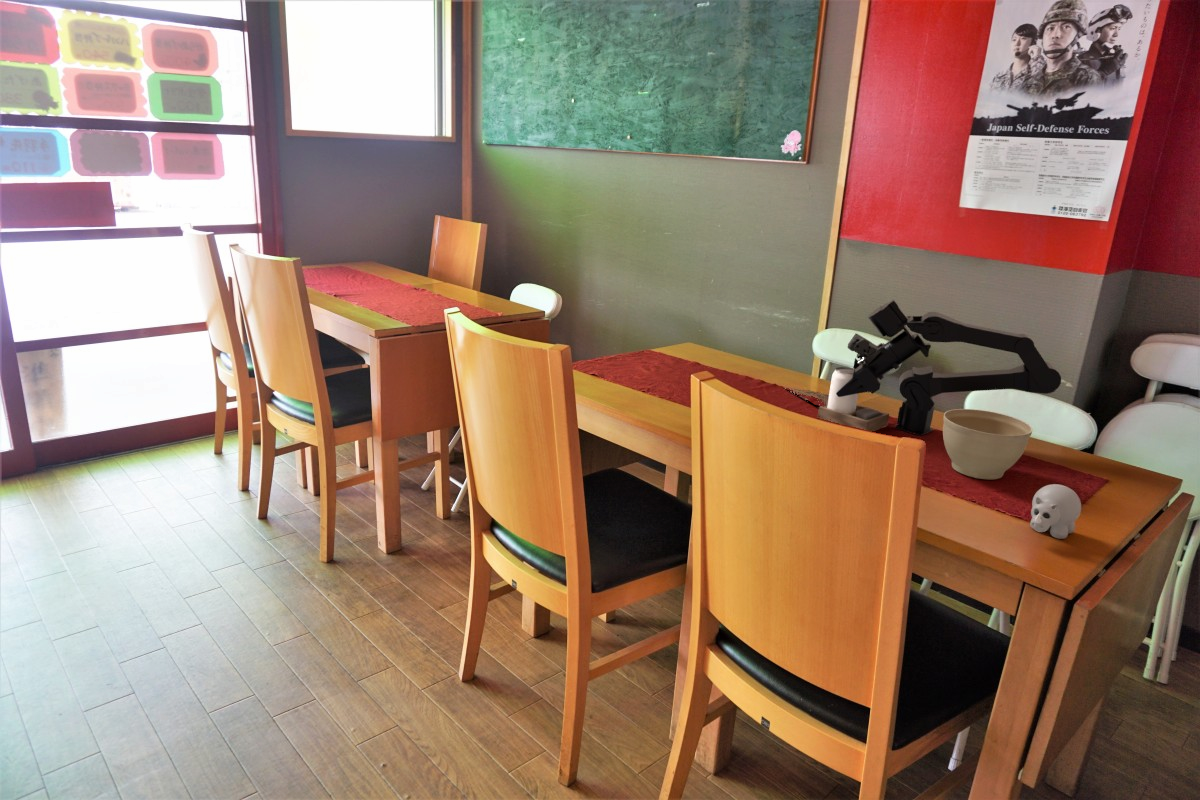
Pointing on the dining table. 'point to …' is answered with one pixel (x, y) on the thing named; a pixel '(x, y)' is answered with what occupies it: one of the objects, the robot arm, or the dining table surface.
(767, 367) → the dining table surface
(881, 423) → the tray
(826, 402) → the wooden fragment
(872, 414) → the grey block
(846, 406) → the can
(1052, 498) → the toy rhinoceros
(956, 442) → the planter bowl
